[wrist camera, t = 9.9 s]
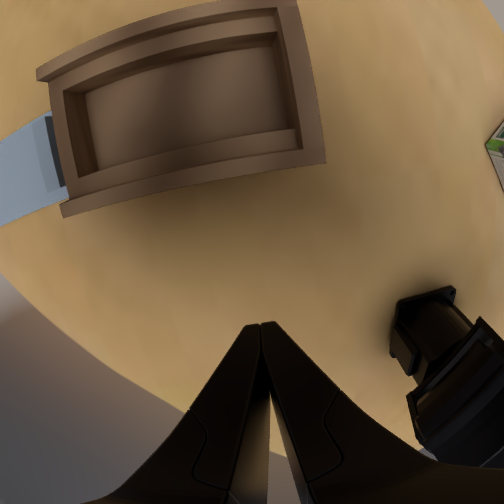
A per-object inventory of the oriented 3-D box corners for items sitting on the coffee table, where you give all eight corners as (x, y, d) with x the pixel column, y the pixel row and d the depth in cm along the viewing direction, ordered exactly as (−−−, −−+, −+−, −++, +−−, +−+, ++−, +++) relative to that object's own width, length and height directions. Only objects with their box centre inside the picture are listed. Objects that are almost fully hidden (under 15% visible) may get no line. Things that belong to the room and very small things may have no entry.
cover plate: (77, 99, 15) (52, 97, 12) (97, 186, 18) (75, 197, 15) (-19, 158, 16) (-42, 165, 13) (-1, 226, 18) (-23, 239, 15)
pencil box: (281, 23, 14) (294, -7, 9) (305, 155, 17) (326, 163, 13) (74, 77, 14) (35, 69, 10) (97, 198, 18) (63, 218, 13)
